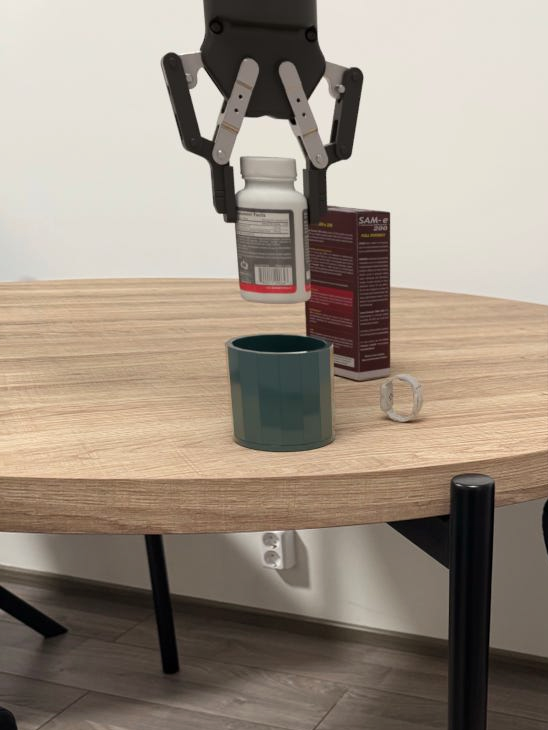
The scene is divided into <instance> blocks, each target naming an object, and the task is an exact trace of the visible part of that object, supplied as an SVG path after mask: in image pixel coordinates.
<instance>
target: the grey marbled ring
mask: <svg viewBox="0 0 548 730" xmlns="http://www.w3.org/2000/svg"><path fill="white" fill-rule="evenodd" d="M397 379H398V380H399V381H400V382H401V381H402V382H403V383H406V384H407V385H408V386H410V387H411V390H412V395H413V396H412V397H413V402H412V403H413V404H412V409H411V410H412V413H411V414H410V415H409V416H401V415H400V414H398V413H396V411H395V410H394V409H393V406H394V396H395V395H394V384H393V383H394V382H393V381H394V380H397ZM379 387H380V391H379V396H380V404H379V405H380V410H381V411H382V412H384V414H385V415H386V416H387V417H388V418H390V419H391V420H393V421H395V422H397V423H405V422H408V421H411V420H413V419H414V418H416V417H417V416H418V415H419V413H420V412H421V410H422V408H423V405H424V401H425V399H424V393H423V392H424V391H423V389H422V387H421V383H420V382H419V381H418V380H417V379H416V378H415V377H414V376H411V375H409V374H408V373H407V374H406V373H399V374H397V375H394V376H392V377H390V378H388V379H387V380H386V381H385V382H384V383H383V384H381V385H380V386H379Z"/></svg>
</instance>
